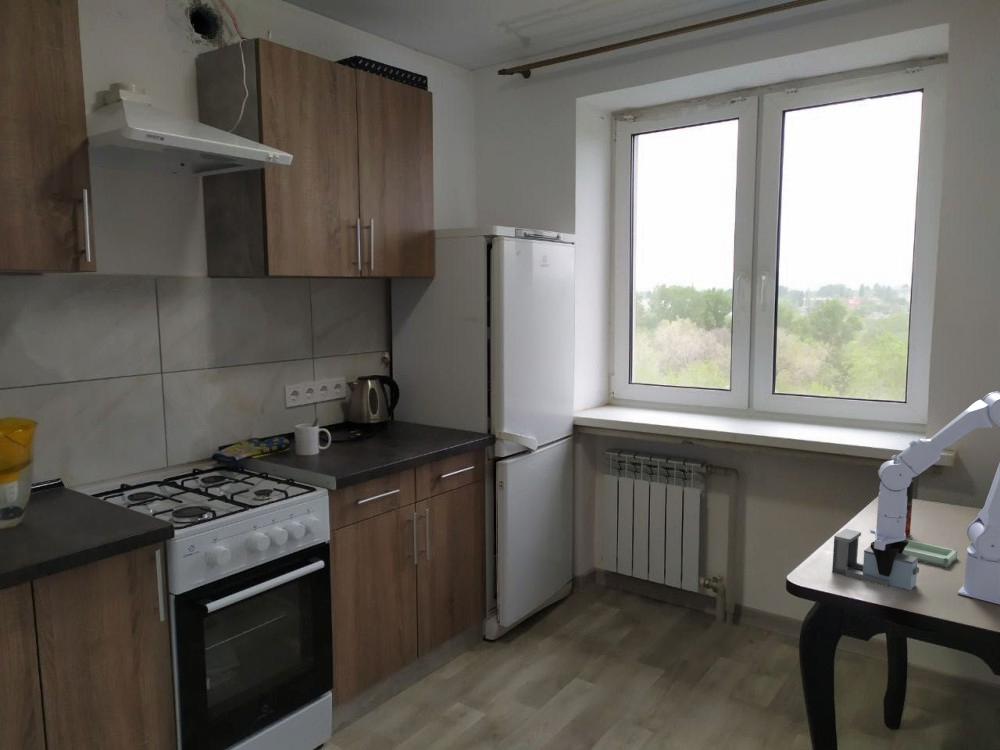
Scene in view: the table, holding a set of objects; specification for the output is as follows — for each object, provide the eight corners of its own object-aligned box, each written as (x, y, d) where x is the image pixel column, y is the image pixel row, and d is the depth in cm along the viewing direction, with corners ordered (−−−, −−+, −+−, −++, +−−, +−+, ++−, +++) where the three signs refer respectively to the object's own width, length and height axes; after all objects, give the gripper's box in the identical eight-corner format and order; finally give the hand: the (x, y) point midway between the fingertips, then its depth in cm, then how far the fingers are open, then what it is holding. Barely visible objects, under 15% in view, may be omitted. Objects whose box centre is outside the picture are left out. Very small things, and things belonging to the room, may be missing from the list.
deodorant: (897, 537, 193) (900, 483, 191) (879, 530, 199) (883, 477, 197) (915, 535, 195) (919, 481, 193) (897, 528, 200) (901, 475, 199)
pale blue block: (918, 586, 162) (921, 558, 161) (913, 591, 159) (915, 562, 158) (868, 572, 169) (870, 546, 169) (862, 577, 167) (864, 550, 166)
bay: (897, 578, 166) (900, 541, 165) (887, 586, 161) (890, 548, 160) (843, 563, 175) (845, 528, 174) (832, 572, 170) (834, 535, 169)
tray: (956, 558, 179) (957, 550, 178) (947, 567, 173) (947, 559, 172) (892, 543, 189) (892, 536, 189) (881, 551, 183) (881, 544, 183)
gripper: (883, 503, 171) (879, 559, 172) (861, 517, 161) (857, 576, 162) (916, 510, 166) (912, 567, 167) (895, 524, 156) (891, 585, 157)
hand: (887, 572), depth 164 cm, fingers closed on pale blue block, 4 cm apart
